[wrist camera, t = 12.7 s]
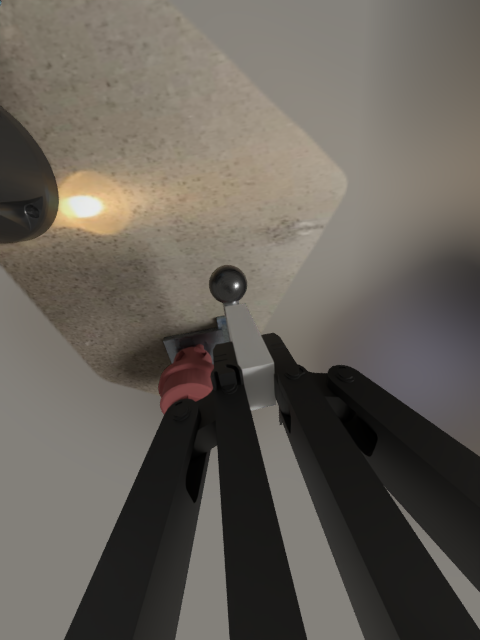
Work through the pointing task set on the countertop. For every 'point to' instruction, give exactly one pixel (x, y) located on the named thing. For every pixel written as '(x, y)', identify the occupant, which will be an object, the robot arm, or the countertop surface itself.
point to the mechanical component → (186, 377)
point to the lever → (228, 286)
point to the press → (198, 339)
